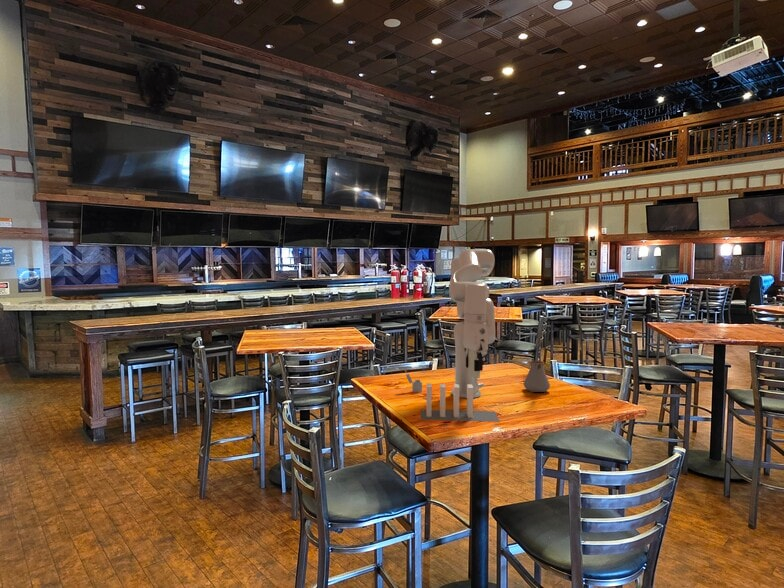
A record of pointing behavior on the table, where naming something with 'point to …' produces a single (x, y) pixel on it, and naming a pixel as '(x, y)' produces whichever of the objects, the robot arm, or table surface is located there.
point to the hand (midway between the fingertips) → (474, 368)
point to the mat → (461, 416)
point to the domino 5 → (472, 365)
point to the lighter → (415, 384)
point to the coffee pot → (536, 378)
